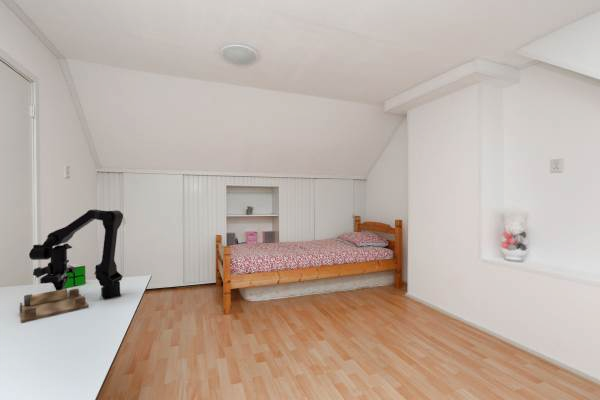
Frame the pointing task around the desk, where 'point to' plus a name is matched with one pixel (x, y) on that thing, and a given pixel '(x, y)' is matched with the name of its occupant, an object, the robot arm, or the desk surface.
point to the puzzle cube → (76, 276)
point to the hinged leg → (45, 297)
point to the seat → (53, 307)
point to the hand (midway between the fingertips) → (59, 293)
